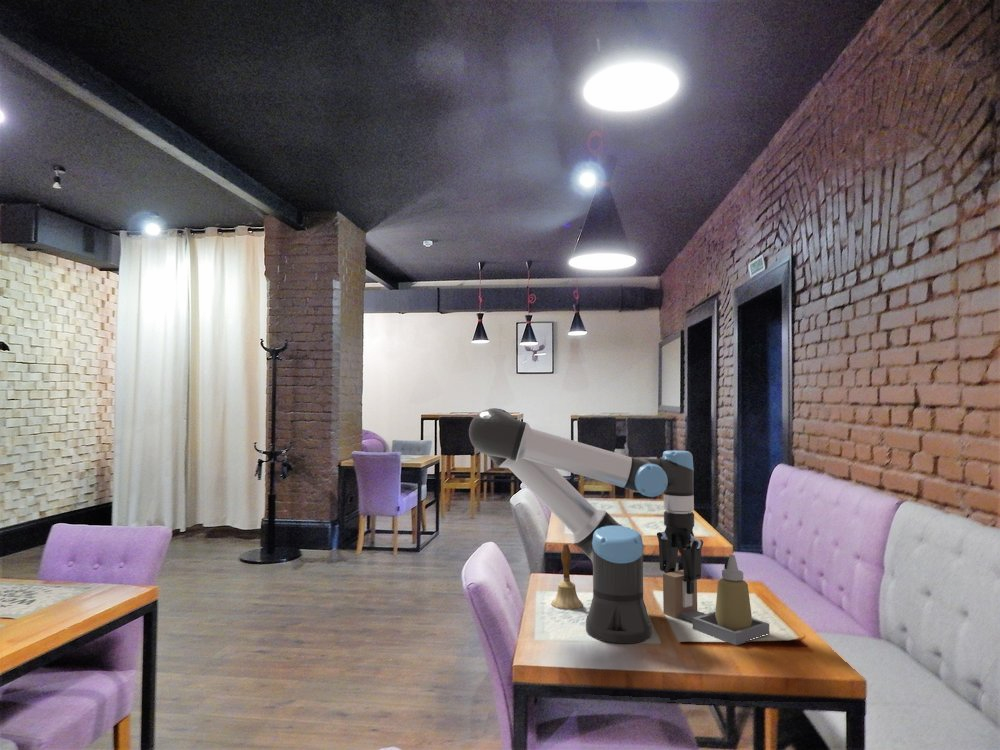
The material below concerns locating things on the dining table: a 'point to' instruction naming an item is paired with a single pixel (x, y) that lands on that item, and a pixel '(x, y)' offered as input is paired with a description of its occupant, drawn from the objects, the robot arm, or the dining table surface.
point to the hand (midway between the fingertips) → (680, 603)
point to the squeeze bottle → (733, 599)
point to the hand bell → (566, 585)
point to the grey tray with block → (701, 620)
